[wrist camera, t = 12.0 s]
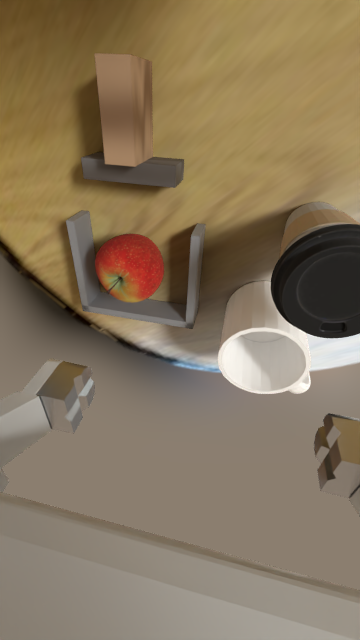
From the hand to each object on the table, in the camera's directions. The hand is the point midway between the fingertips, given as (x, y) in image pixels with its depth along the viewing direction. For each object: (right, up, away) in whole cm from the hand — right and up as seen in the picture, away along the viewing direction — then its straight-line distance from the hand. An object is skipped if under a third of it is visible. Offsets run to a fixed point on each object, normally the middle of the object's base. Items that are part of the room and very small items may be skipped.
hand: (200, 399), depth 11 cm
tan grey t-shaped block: (-5, +23, +21) cm, 32 cm away
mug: (+12, +3, +32) cm, 34 cm away
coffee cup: (+14, +13, +24) cm, 31 cm away
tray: (-6, +10, +31) cm, 33 cm away
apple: (-6, +12, +30) cm, 33 cm away
